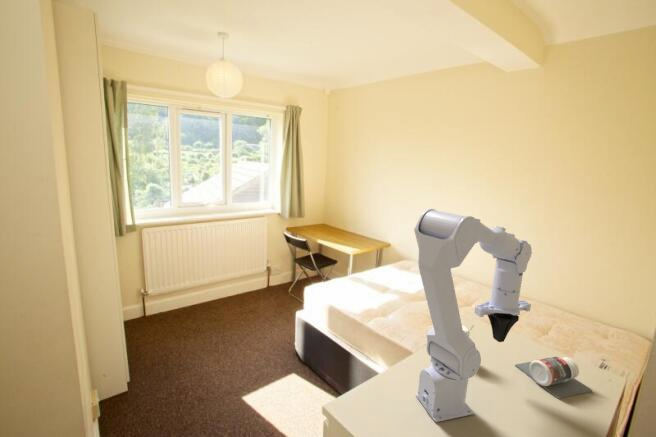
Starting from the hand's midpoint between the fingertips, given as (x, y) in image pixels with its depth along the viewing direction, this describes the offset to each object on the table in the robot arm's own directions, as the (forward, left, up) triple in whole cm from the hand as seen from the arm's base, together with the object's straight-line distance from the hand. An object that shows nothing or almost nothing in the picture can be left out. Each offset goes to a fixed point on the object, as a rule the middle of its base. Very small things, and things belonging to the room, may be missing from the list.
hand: (498, 339), depth 77 cm
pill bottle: (+9, -5, -7) cm, 12 cm away
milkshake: (-3, +9, -11) cm, 14 cm away
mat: (+15, -4, -10) cm, 18 cm away
